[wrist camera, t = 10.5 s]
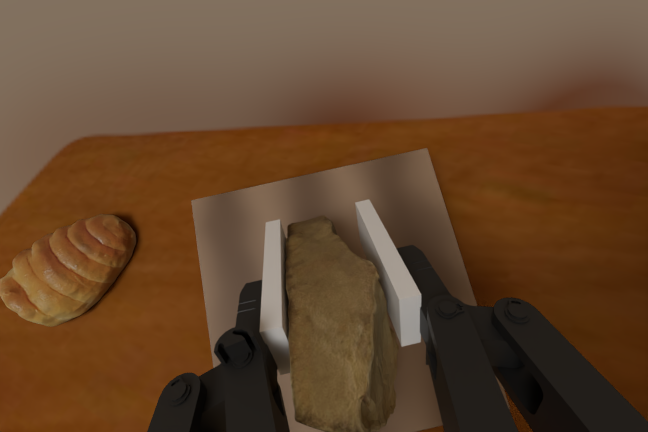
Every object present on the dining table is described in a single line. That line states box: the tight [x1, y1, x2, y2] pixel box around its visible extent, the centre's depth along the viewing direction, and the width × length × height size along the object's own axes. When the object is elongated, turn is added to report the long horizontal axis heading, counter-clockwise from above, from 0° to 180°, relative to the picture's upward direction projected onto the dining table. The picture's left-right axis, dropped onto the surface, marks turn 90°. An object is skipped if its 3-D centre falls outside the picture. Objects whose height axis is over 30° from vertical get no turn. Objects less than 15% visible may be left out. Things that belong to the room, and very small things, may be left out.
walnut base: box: [191, 148, 510, 432], centre depth 22 cm, size 18×18×4 cm
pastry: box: [0, 214, 136, 326], centre depth 23 cm, size 9×7×4 cm
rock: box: [285, 215, 399, 432], centre depth 15 cm, size 11×9×10 cm
